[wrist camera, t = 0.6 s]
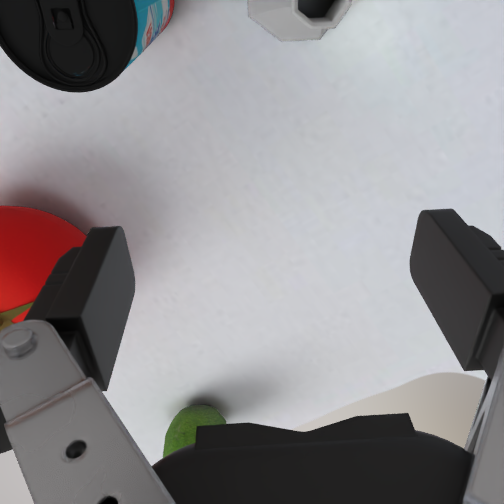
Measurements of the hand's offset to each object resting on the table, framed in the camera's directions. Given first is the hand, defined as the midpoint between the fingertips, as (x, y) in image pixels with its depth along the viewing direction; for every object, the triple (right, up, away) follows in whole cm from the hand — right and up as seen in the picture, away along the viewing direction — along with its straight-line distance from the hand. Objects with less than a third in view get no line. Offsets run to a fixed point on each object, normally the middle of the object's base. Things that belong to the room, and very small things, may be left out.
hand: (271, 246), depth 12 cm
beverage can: (-9, +18, +18) cm, 27 cm away
